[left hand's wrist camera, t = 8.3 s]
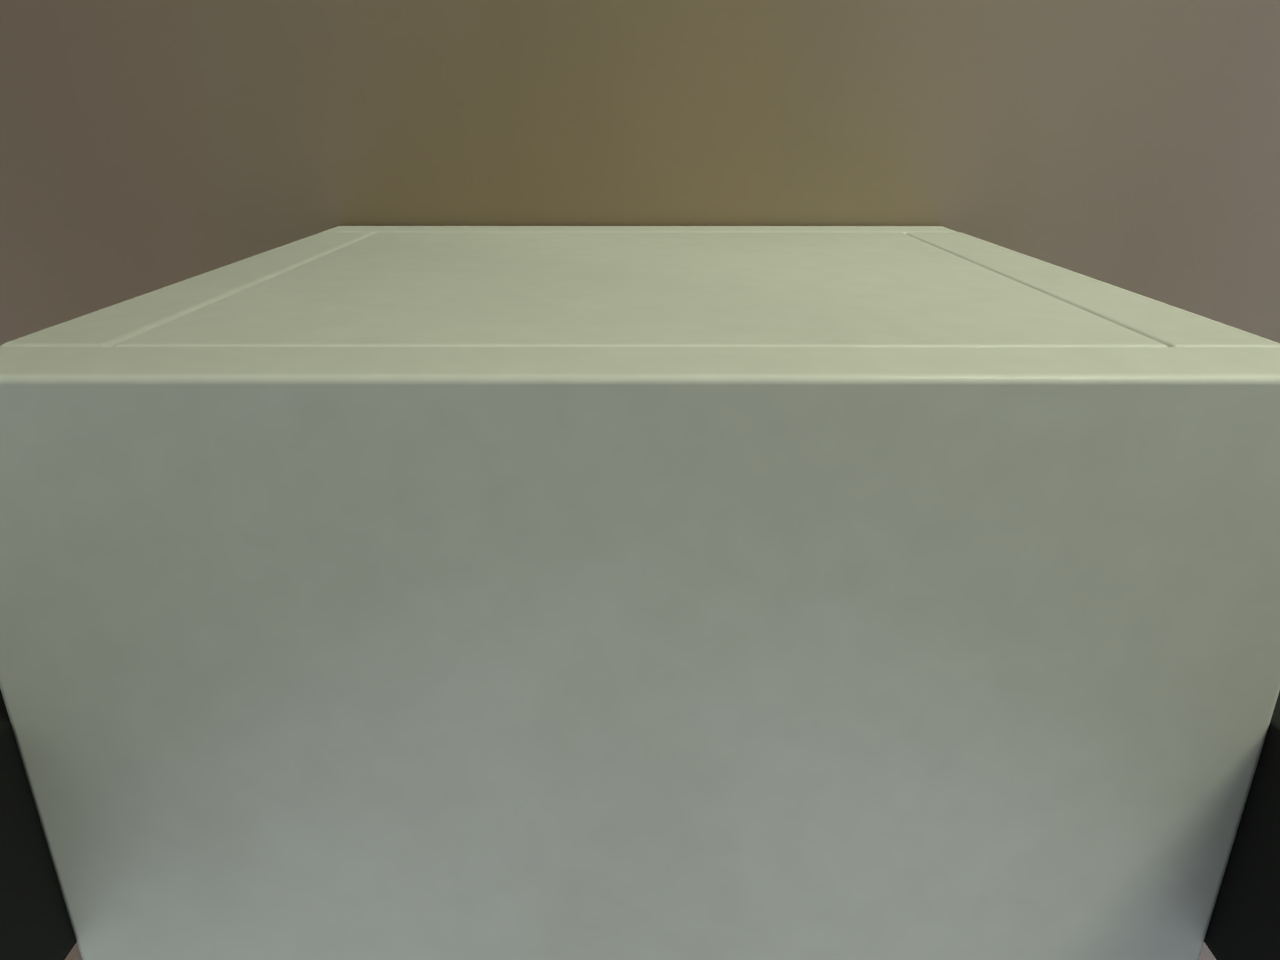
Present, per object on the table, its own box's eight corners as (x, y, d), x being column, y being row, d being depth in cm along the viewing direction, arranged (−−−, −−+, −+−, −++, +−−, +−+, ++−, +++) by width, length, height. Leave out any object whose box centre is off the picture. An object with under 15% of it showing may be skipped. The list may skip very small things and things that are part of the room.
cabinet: (859, 948, 24) (1020, 1556, 14) (420, 947, 24) (259, 1556, 14) (945, 225, 17) (1379, 375, 7) (335, 225, 17) (-101, 375, 7)
